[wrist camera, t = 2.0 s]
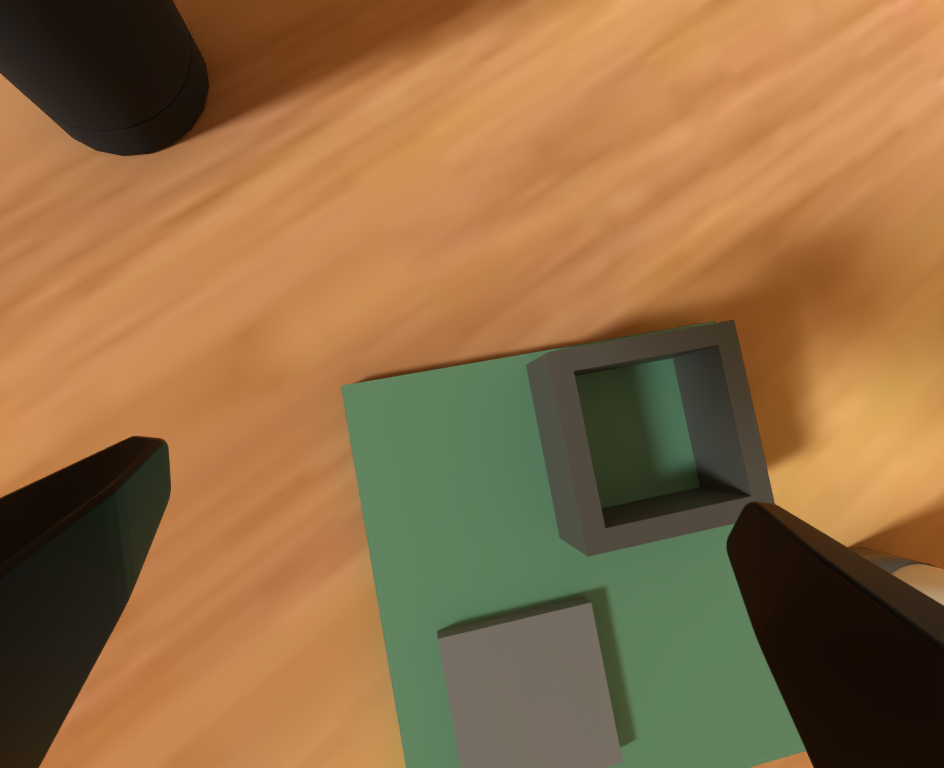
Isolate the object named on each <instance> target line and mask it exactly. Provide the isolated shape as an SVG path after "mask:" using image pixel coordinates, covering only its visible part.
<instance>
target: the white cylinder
mask: <svg viewBox="0 0 944 768" xmlns="http://www.w3.org/2000/svg"><path fill="white" fill-rule="evenodd" d="M849 549H851V550H852V551H854V552H856V553H857V554H859V555H861V556H862V557H864V558H866V559H867V560H869V561H871V562H872V563H874V564H876V565H877V566H879V567H881V568H882V569H884V570H886V571H887V572H889V573H891V574H892V575H894V576H896V577H897V578H899V579H901V580H902V581H904V582H906V583H907V584H909V585H911V586H912V587H914V588H916V589H917V590H919V591H921V592H922V593H924V594H926V595H927V596H929V597H931V598H932V599H934V600H936V601H937V602H939V603H941V604H942V605H944V569H940V568H937V567H935V566H932V565H930V564H925V563H921V562H917V561H913V560H909V559H905V558H901V557H897V556H893V555H889V554H885V553H881V552H876V551H872V550H868V549H864V548H849Z"/></svg>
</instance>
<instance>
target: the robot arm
mask: <svg viewBox="0 0 944 768" xmlns="http://www.w3.org/2000/svg"><path fill="white" fill-rule="evenodd" d="M170 492H171V478H170V463H169V449H168V445H167V442H166V441H165V440H163V439H161V438H153V437H143V436H132V437H130V438H127V439H125V440H123V441H121V442H119V443H116V444H114V445H112V446H110V447H108V448H106V449H104V450H101V451H99V452H97V453H95V454H93V455H91V456H89V457H87V458H84V459H82V460H80V461H78V462H76V463H74V464H72V465H69V466H67V467H65V468H63V469H61V470H59V471H57V472H54V473H52V474H50V475H48V476H46V477H44V478H42V479H39V480H37V481H35V482H33V483H31V484H29V485H27V486H24V487H22V488H20V489H18V490H16V491H14V492H12V493H9V494H7V495H5V496H3V497H1V498H0V768H39V766H40V765H41V763H42V761H43V759H44V757H45V755H46V754H47V752H48V750H49V748H50V746H51V744H52V742H53V741H54V739H55V737H56V735H57V733H58V731H59V729H60V728H61V726H62V724H63V722H64V720H65V718H66V716H67V715H68V713H69V711H70V709H71V707H72V705H73V704H74V702H75V700H76V698H77V696H78V694H79V692H80V691H81V689H82V687H83V685H84V683H85V681H86V679H87V678H88V676H89V674H90V672H91V670H92V668H93V667H94V665H95V663H96V661H97V659H98V657H99V655H100V654H101V652H102V650H103V648H104V646H105V644H106V642H107V641H108V639H109V637H110V635H111V633H112V631H113V629H114V628H115V626H116V624H117V622H118V620H119V618H120V616H121V614H122V612H123V611H124V609H125V607H126V605H127V603H128V601H129V598H130V596H131V594H132V591H133V589H134V587H135V584H136V582H137V579H138V577H139V574H140V572H141V569H142V567H143V564H144V562H145V559H146V557H147V554H148V552H149V549H150V547H151V544H152V542H153V539H154V537H155V534H156V532H157V529H158V527H159V524H160V522H161V519H162V517H163V514H164V512H165V509H166V506H167V504H168V501H169V497H170ZM726 549H727V554H728V557H729V560H730V563H731V566H732V569H733V572H734V575H735V578H736V581H737V584H738V587H739V590H740V593H741V596H742V599H743V602H744V604H745V607H746V610H747V613H748V616H749V619H750V622H751V625H752V628H753V631H754V633H755V636H756V639H757V641H758V644H759V646H760V648H761V651H762V653H763V655H764V658H765V660H766V662H767V664H768V667H769V669H770V671H771V673H772V676H773V678H774V680H775V682H776V684H777V687H778V689H779V691H780V693H781V696H782V698H783V700H784V702H785V705H786V707H787V709H788V711H789V714H790V716H791V718H792V720H793V723H794V725H795V727H796V729H797V731H798V734H799V736H800V738H801V740H802V743H803V745H804V747H805V749H806V752H807V754H808V756H809V758H810V761H811V763H812V765H813V767H814V768H944V605H942V604H941V603H939V602H937V601H936V600H934V599H932V598H931V597H929V596H927V595H926V594H924V593H922V592H921V591H919V590H917V589H916V588H914V587H912V586H911V585H909V584H907V583H906V582H904V581H902V580H901V579H899V578H897V577H896V576H894V575H892V574H891V573H889V572H887V571H886V570H884V569H882V568H881V567H879V566H877V565H876V564H874V563H872V562H871V561H869V560H867V559H866V558H864V557H862V556H861V555H859V554H857V553H856V552H854V551H852V550H851V549H849V548H847V547H846V546H844V545H843V544H841V543H839V542H838V541H836V540H834V539H833V538H831V537H829V536H828V535H826V534H824V533H823V532H821V531H819V530H818V529H816V528H814V527H813V526H811V525H809V524H808V523H806V522H804V521H803V520H801V519H799V518H798V517H796V516H794V515H793V514H791V513H789V512H788V511H786V510H784V509H783V508H781V507H779V506H778V505H776V504H772V503H764V502H755V501H753V502H749V503H748V504H746V505H745V506H744V508H743V509H742V511H741V513H740V515H739V517H738V519H737V520H736V522H735V524H734V526H733V528H732V530H731V532H730V534H729V536H728V538H727V542H726Z"/></svg>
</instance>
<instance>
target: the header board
mask: <svg viewBox="0 0 944 768" xmlns="http://www.w3.org/2000/svg"><path fill="white" fill-rule="evenodd" d="M341 389H342V395H343V401H344V406H345V412H346V418H347V424H348V430H349V436H350V442H351V447H352V453H353V459H354V465H355V471H356V477H357V482H358V488H359V494H360V500H361V506H362V512H363V518H364V523H365V529H366V535H367V541H368V547H369V553H370V559H371V564H372V570H373V576H374V582H375V588H376V594H377V599H378V605H379V611H380V617H381V623H382V629H383V635H384V640H385V646H386V652H387V658H388V664H389V670H390V675H391V681H392V687H393V693H394V699H395V705H396V711H397V716H398V722H399V728H400V734H401V740H402V746H403V752H404V757H405V763H406V768H749V767H752V766H756V765H759V764H763V763H766V762H770V761H773V760H777V759H780V758H783V757H787V756H790V755H794V754H797V753H801V752H804V751H806V749H805V747H804V745H803V743H802V740H801V738H800V736H799V734H798V731H797V729H796V727H795V725H794V723H793V720H792V718H791V716H790V714H789V711H788V709H787V707H786V705H785V702H784V700H783V698H782V696H781V693H780V691H779V689H778V687H777V684H776V682H775V680H774V678H773V676H772V673H771V671H770V669H769V667H768V664H767V662H766V660H765V658H764V655H763V653H762V651H761V648H760V646H759V644H758V641H757V639H756V636H755V633H754V631H753V628H752V625H751V622H750V619H749V616H748V613H747V610H746V607H745V604H744V602H743V599H742V596H741V593H740V590H739V587H738V584H737V581H736V578H735V575H734V572H733V569H732V566H731V563H730V560H729V557H728V554H727V549H726V542H727V538H728V536H729V534H730V532H731V530H732V528H733V526H734V524H735V522H736V520H737V519H738V517H739V515H740V513H741V511H742V509H743V508H744V506H745V505H746V504H748V503H749V502H753V501H755V502H764V503H772V504H775V503H774V498H773V494H772V489H771V485H770V480H769V476H768V471H767V467H766V462H765V458H764V453H763V449H762V444H761V440H760V435H759V431H758V426H757V422H756V417H755V413H754V408H753V404H752V399H751V395H750V390H749V386H748V381H747V377H746V372H745V368H744V363H743V359H742V354H741V350H740V345H739V341H738V336H737V332H736V327H735V323H734V320H731V321H725V322H719V323H715V321H713V322H707V323H701V324H696V325H690V326H684V327H678V328H673V329H667V330H661V331H655V332H649V333H644V334H638V335H632V336H626V337H620V338H615V339H609V340H603V341H597V342H592V343H586V344H580V345H574V346H568V347H563V348H557V349H551V350H545V351H539V352H534V353H528V354H522V355H516V356H511V357H505V358H499V359H493V360H487V361H482V362H476V363H470V364H464V365H459V366H453V367H447V368H441V369H435V370H430V371H424V372H418V373H412V374H406V375H401V376H395V377H389V378H383V379H378V380H372V381H366V382H360V383H354V384H349V385H343V386H341Z"/></svg>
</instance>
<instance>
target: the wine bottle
mask: <svg viewBox="0 0 944 768" xmlns="http://www.w3.org/2000/svg"><path fill="white" fill-rule="evenodd" d="M0 73H1V74H2V75H3V76H4V77H5V78H6V79H8V80H9V81H10V82H11V83H12V84H13V85H14V86H15V87H16V88H18V89H19V90H20V91H21V92H22V93H23V94H24V95H25V96H27V97H28V98H29V99H30V100H31V101H32V102H33V103H34V104H35V105H37V106H38V107H39V108H40V109H41V110H42V111H43V112H44V113H45V114H47V115H48V116H49V117H50V118H51V119H52V120H53V121H54V122H56V123H57V124H58V125H59V126H60V127H61V128H62V129H63V130H64V131H66V132H67V133H68V134H69V135H70V136H71V137H72V138H74V139H76V140H77V141H79V142H81V143H83V144H85V145H87V146H89V147H91V148H93V149H95V150H96V151H101V152H106V153H111V154H116V155H121V156H126V155H137V154H149V153H151V152H154V151H157V150H159V149H162V148H164V147H167V146H169V145H172V144H173V143H175V142H176V141H177V140H178V139H179V138H181V137H182V136H183V135H184V134H186V133H187V132H188V131H189V130H191V129H192V127H193V125H194V124H195V122H196V121H197V119H198V117H199V116H200V114H201V113H202V111H203V110H204V106H205V101H206V97H207V92H208V88H209V85H208V77H207V69H206V63H205V61H204V59H203V57H202V55H201V53H200V51H199V49H198V47H197V45H196V43H195V41H194V39H193V38H192V36H191V34H190V32H189V30H188V28H187V26H186V24H185V23H184V21H183V19H182V17H181V15H180V13H179V11H178V9H177V8H176V6H175V4H174V2H173V0H0Z"/></svg>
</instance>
